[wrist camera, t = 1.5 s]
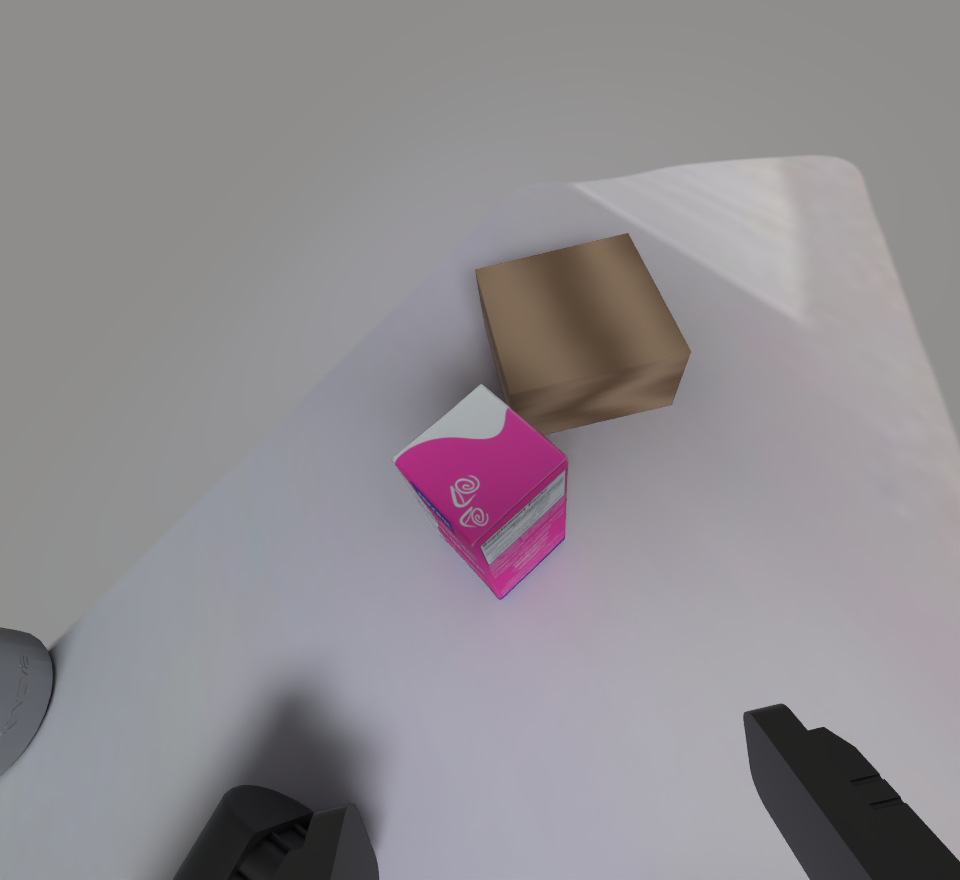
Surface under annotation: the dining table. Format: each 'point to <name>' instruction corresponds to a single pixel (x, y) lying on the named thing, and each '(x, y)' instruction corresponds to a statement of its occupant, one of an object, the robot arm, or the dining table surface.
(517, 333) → the walnut block
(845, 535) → the dining table surface
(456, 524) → the supplement box
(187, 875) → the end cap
